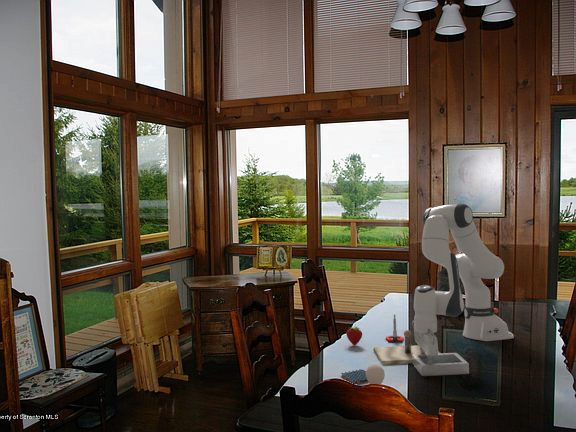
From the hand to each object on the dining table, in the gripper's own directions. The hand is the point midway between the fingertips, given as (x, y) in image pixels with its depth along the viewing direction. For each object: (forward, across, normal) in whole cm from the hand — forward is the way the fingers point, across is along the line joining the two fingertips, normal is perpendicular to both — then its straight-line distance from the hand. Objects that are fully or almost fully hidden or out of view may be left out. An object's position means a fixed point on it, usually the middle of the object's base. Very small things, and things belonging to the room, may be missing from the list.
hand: (426, 360), depth 207 cm
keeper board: (+2, +11, +4) cm, 12 cm away
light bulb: (+2, -29, +26) cm, 39 cm away
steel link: (+2, -6, -4) cm, 7 cm away
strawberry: (+2, +29, +24) cm, 38 cm away
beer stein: (+2, +89, -42) cm, 98 cm away
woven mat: (+2, -12, +29) cm, 32 cm away
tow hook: (+2, +35, +4) cm, 36 cm away
